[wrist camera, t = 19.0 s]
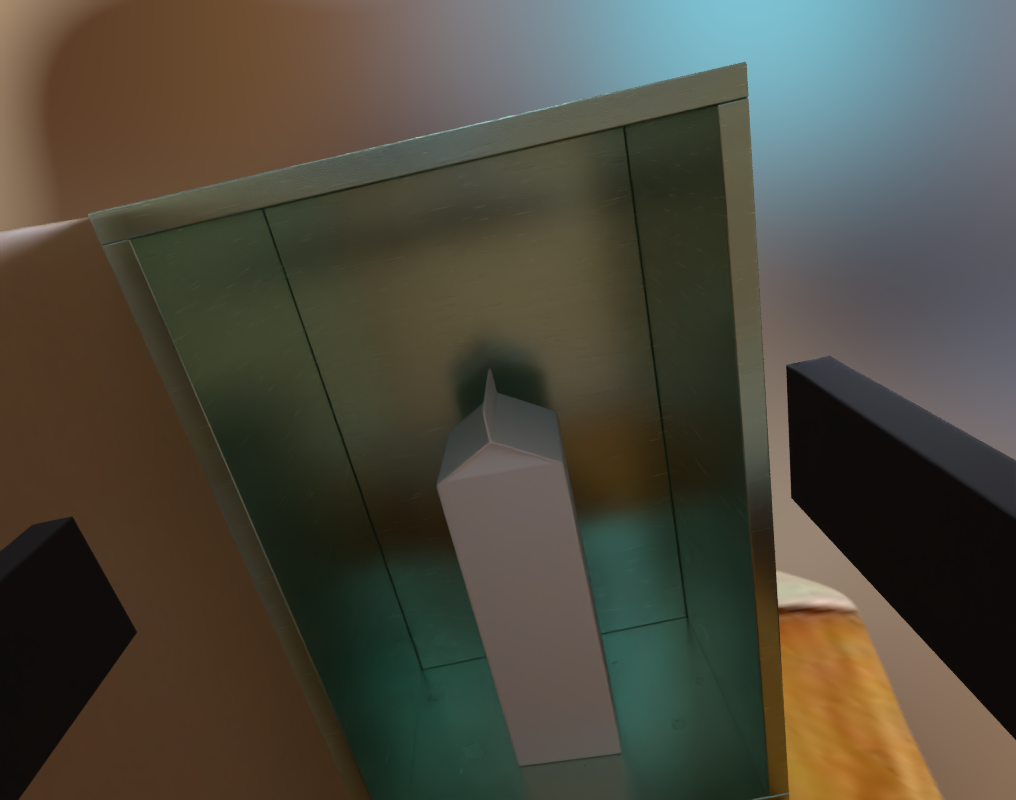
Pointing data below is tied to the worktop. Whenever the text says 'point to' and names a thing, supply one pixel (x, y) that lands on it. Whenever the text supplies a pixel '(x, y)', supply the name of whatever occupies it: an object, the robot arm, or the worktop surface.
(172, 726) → the fridge door
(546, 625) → the milk
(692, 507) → the fridge
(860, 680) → the worktop surface
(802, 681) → the worktop surface
